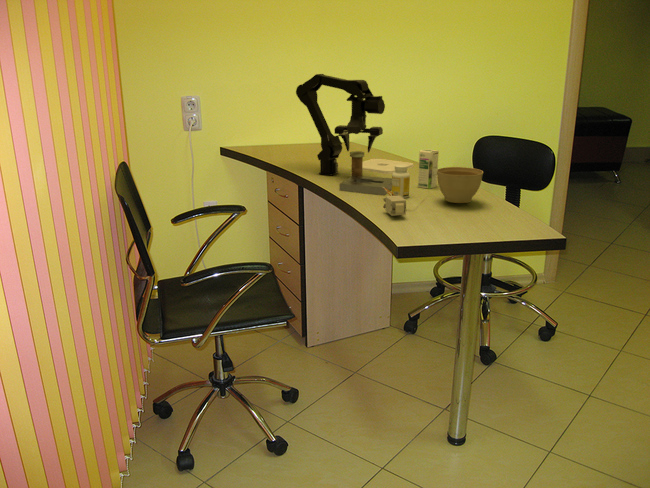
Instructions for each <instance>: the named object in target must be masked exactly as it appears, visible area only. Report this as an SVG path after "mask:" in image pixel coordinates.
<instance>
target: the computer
mask: <svg viewBox="0 0 650 488" xmlns="http://www.w3.org/2000/svg"><path fill="white" fill-rule="evenodd" d="M395 165H407V166H408V169H411V168H413V167H414V163H413V162H407V161H400V160H394V159H393V160H391V159H384V158H371V159H368V160H367V159H366V160H364V161H363V164H362V171H368V172H373V173H378V174H384V175H392V174H393V173H394V172H395ZM350 166H351V168H352V164H351V165H350ZM408 169H407V170H408Z"/></svg>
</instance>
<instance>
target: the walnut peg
mask: <svg viewBox="0 0 650 488" xmlns="http://www.w3.org/2000/svg"><path fill="white" fill-rule="evenodd" d="M349 157H351V165H352V167H351V176H353V175H355V176H363V170H362V164H363V160H364V159H363V158H364V157H365V151H360V150H354V151H350V152H349ZM351 176H350V177H351Z"/></svg>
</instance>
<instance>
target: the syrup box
mask: <svg viewBox="0 0 650 488" xmlns="http://www.w3.org/2000/svg"><path fill="white" fill-rule="evenodd" d="M439 152H440V151H439V150H434V149H420V150H419V153H418V176H417V179H418V180H417V188H422V189H429V190H430V189H433V188H436V187H437V185H438V179H437V170H438V169H439V168H438V167H439V165H438V164H439Z"/></svg>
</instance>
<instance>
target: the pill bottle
mask: <svg viewBox="0 0 650 488" xmlns="http://www.w3.org/2000/svg"><path fill="white" fill-rule="evenodd" d="M410 176H411V174H410V173H409V171H408V166H407V165H395V172H394V173H393V174H391V178H392V190H391V192H392V193H393V194H394V195H395V196H398V195H400V196H401V197H402V198H404V199H406V198H409V196H410ZM392 193H391V196H394V195H393V194H392Z"/></svg>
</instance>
